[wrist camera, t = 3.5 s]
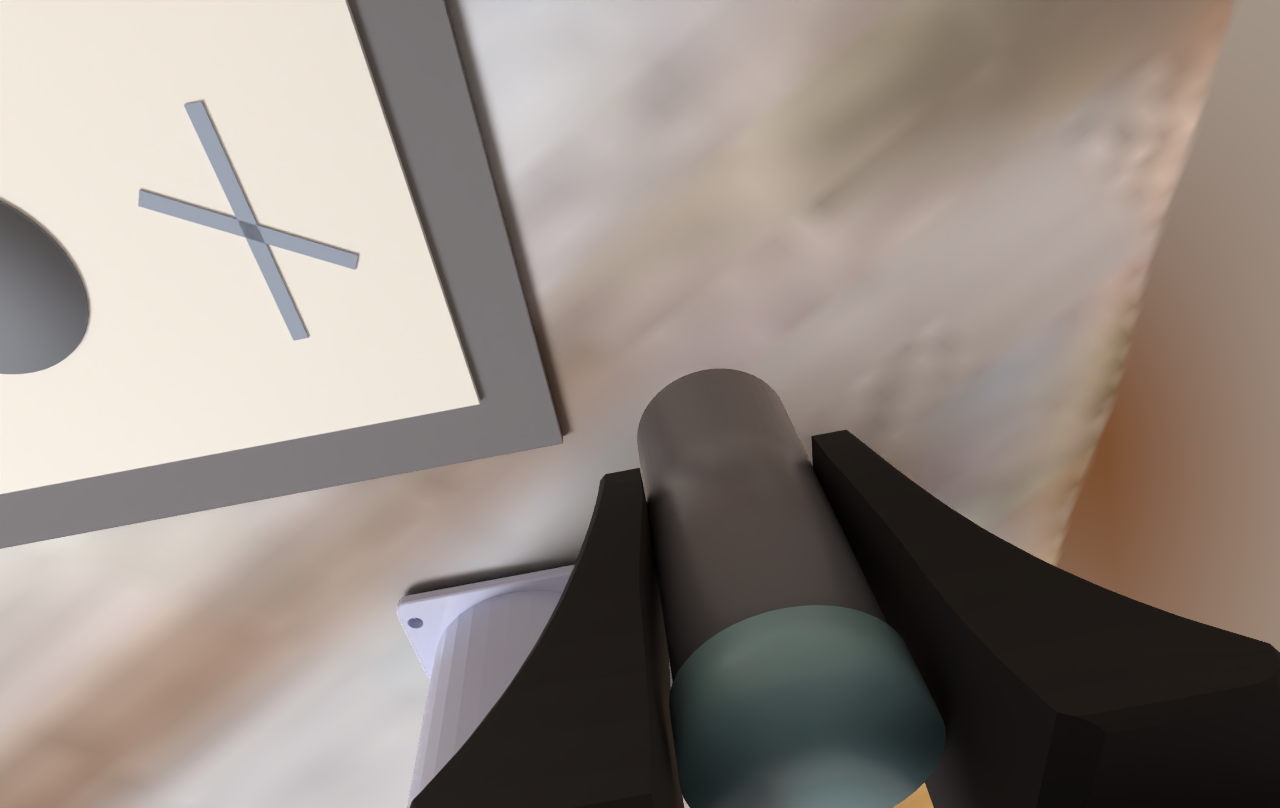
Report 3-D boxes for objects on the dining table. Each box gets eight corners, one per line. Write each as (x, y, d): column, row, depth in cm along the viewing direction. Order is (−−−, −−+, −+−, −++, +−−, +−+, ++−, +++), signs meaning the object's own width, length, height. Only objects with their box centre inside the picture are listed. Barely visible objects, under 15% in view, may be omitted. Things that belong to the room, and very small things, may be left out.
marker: (795, 483, 16) (938, 813, 10) (645, 510, 16) (695, 856, 10) (787, 349, 14) (954, 651, 8) (619, 381, 14) (660, 705, 8)
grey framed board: (563, 437, 23) (563, 449, 22) (-69, 555, 23) (-83, 569, 23) (382, -232, 14) (376, -239, 14) (-614, -34, 15) (-656, -33, 14)
